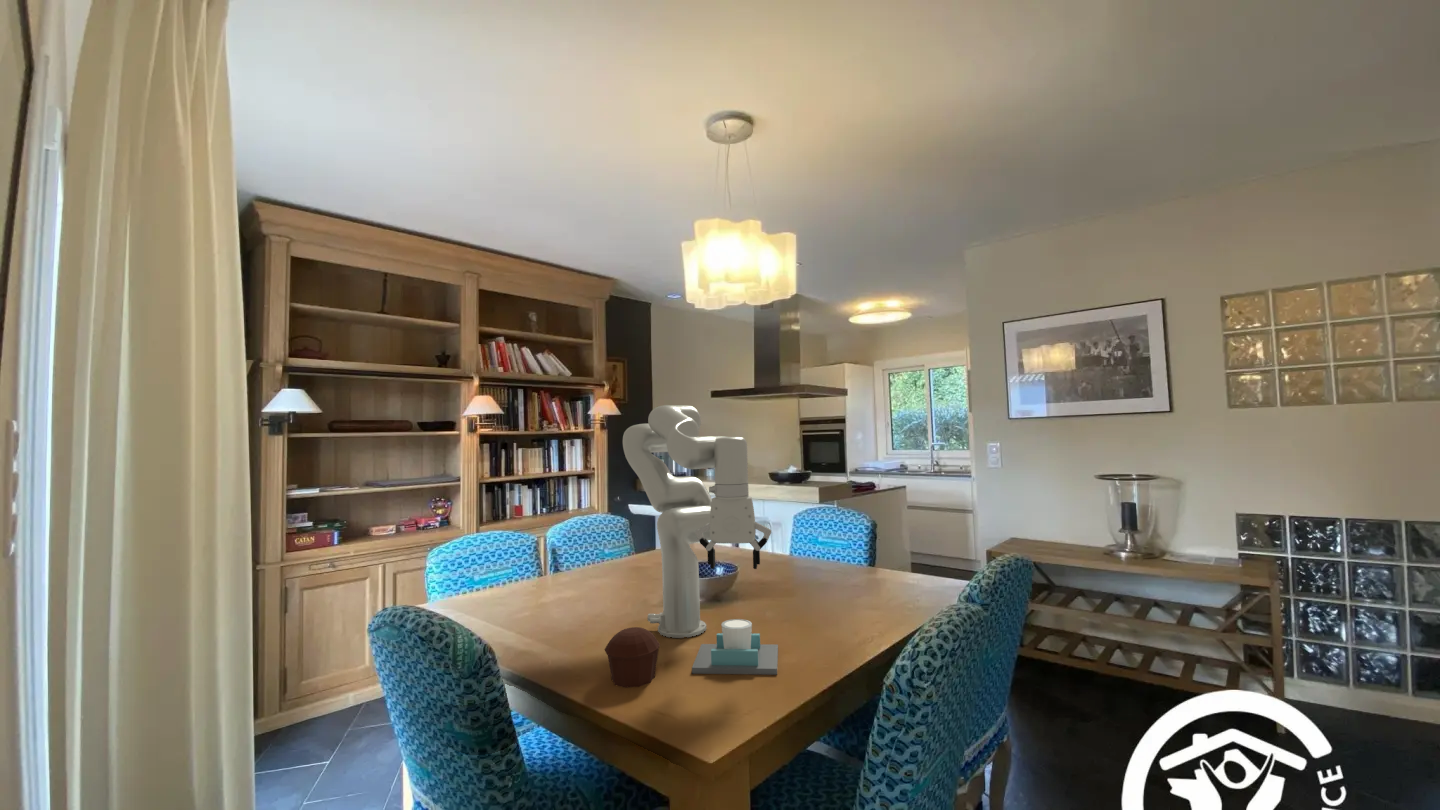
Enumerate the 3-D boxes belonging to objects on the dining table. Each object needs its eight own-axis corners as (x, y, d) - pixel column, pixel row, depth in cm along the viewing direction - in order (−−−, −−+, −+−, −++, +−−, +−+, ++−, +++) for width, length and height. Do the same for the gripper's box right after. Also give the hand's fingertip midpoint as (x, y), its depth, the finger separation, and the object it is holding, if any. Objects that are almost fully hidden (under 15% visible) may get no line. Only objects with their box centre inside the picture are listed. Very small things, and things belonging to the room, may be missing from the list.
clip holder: (692, 673, 123) (691, 653, 123) (701, 649, 137) (701, 631, 137) (777, 674, 121) (776, 654, 121) (778, 649, 135) (777, 631, 135)
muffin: (630, 664, 129) (629, 618, 130) (671, 673, 123) (669, 625, 124) (593, 684, 119) (592, 635, 119) (636, 695, 113) (634, 643, 114)
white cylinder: (753, 660, 125) (752, 627, 126) (722, 661, 125) (721, 628, 126) (752, 649, 132) (751, 618, 133) (722, 650, 132) (721, 619, 133)
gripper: (691, 493, 128) (693, 571, 128) (769, 492, 126) (771, 571, 126) (697, 490, 136) (698, 563, 135) (770, 489, 134) (773, 563, 133)
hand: (734, 567), depth 130 cm, fingers open, 9 cm apart
